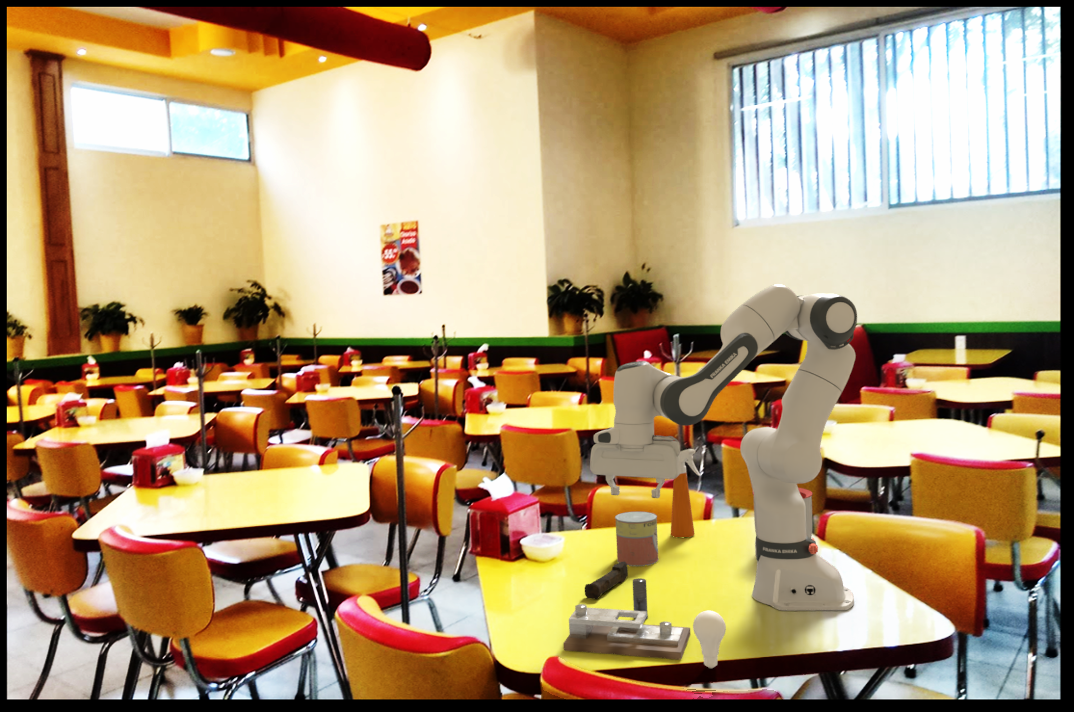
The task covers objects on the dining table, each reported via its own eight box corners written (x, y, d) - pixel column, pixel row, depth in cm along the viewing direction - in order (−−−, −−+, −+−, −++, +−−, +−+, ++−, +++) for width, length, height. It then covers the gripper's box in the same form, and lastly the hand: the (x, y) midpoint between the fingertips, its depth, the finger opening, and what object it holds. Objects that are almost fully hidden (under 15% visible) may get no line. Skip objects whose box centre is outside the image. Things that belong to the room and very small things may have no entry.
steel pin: (648, 615, 193) (647, 578, 192) (646, 620, 190) (644, 583, 190) (635, 615, 194) (634, 578, 193) (632, 619, 191) (631, 582, 190)
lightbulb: (722, 660, 168) (720, 604, 167) (730, 673, 162) (728, 616, 161) (691, 662, 168) (689, 606, 167) (698, 675, 161) (696, 618, 161)
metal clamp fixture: (683, 632, 178) (682, 606, 178) (678, 645, 172) (677, 618, 172) (578, 625, 185) (577, 600, 185) (569, 637, 179) (568, 611, 178)
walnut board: (690, 634, 181) (690, 627, 181) (681, 659, 169) (680, 652, 169) (580, 626, 189) (579, 619, 188) (563, 650, 176) (563, 643, 176)
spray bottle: (694, 541, 249) (691, 451, 247) (665, 535, 257) (662, 448, 255) (709, 536, 254) (706, 448, 252) (680, 530, 262) (677, 444, 260)
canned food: (658, 566, 228) (656, 521, 227) (615, 566, 230) (613, 522, 229) (659, 553, 239) (657, 511, 238) (618, 553, 241) (616, 511, 240)
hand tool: (598, 601, 204) (597, 582, 204) (584, 599, 207) (583, 580, 206) (637, 578, 220) (636, 561, 219) (623, 576, 222) (622, 558, 222)
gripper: (683, 434, 190) (684, 496, 191) (596, 431, 199) (597, 490, 199) (676, 438, 185) (677, 502, 185) (586, 435, 193) (588, 496, 194)
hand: (635, 496), depth 192 cm, fingers open, 8 cm apart
